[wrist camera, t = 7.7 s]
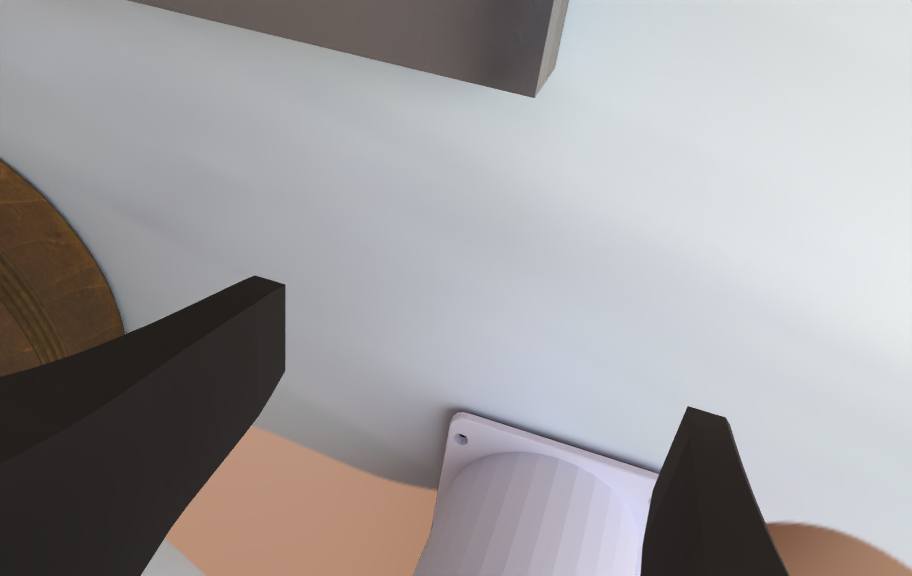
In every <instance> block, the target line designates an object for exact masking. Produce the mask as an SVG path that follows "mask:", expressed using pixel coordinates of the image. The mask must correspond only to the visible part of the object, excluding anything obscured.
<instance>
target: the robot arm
mask: <svg viewBox="0 0 912 576" xmlns="http://www.w3.org/2000/svg"><path fill="white" fill-rule="evenodd" d="M284 372H285V284H281V283H278V282H275V281H272V280H268V279H265V278H262V277H258V276H252V277H250V278H248V279H245V280H243V281H241V282H239V283H237V284H234V285H232V286H230V287H228V288H226V289H224V290H222V291H220V292H218V293H215V294H213V295H211V296H209V297H207V298H205V299H203V300H201V301H199V302H197V303H195V304H193V305H190V306H188V307H186V308H184V309H182V310H180V311H177V312H175V313H173V314H171V315H169V316H167V317H165V318H162V319H160V320H158V321H156V322H154V323H151V324H149V325H147V326H144V327H142V328H139V329H137V330H135V331H132V332H130V333H127V334H125V335H123V336H120V337H118V338H115V339H113V340H111V341H108V342H106V343H103V344H101V345H99V346H96V347H93V348H91V349H88V350H85V351H82V352H80V353H77V354H74V355H71V356H68V357H65V358H62V359H59V360H56V361H53V362H50V363H47V364H44V365H41V366H37V367H34V368H31V369H27V370H24V371H20V372H16V373H13V374H9V375H5V376H1V377H0V576H141V574H142V572H143V571H144V569H145V568H146V566H147V565H148V563H149V561H150V560H151V558H152V557H153V555H154V554H155V552H156V551H157V549H158V547H159V546H160V544H161V543H162V541H163V540H164V538H165V536H166V535H167V533H168V532H169V530H170V529H171V527H172V526H173V525H174V523H175V522H176V521H177V519H178V518H179V516H180V515H181V514H182V512H183V511H184V510H185V508H186V507H187V506H188V504H189V503H190V502H191V501H192V499H193V498H194V497H195V496H196V494H197V493H198V492H199V490H200V489H201V488H202V487H203V486H204V484H205V483H206V482H207V481H208V479H209V478H210V477H211V476H212V474H213V473H214V472H215V471H216V469H217V468H218V467H219V466H220V464H221V463H222V462H223V461H224V459H225V458H226V457H227V456H228V454H229V453H230V452H231V451H232V449H233V448H234V447H235V445H236V444H237V443H238V442H239V440H240V439H241V438H242V437H243V435H244V434H245V433H246V432H247V430H248V429H249V428H250V426H251V425H252V424H253V422H254V421H255V420H256V419H257V417H258V416H259V414H260V413H261V411H262V409H263V408H264V406H265V405H266V403H267V401H268V400H269V398H270V396H271V395H272V393H273V391H274V389H275V388H276V386H277V384H278V382H279V381H280V379H281V377H282V375H283V374H284ZM459 434H462V435H464V436H466V437H462V436H460V435H459ZM413 576H789V574H788V571H787V569H786V567H785V565H784V563H783V561H782V559H781V557H780V556H779V553H778V551H777V548H776V546H775V544H774V542H773V540H772V537H771V535H770V533H769V530H768V528H767V526H766V523H765V521H764V519H763V516H762V514H761V511H760V509H759V507H758V504H757V502H756V499H755V497H754V494H753V492H752V489H751V486H750V484H749V481H748V478H747V475H746V473H745V470H744V467H743V464H742V461H741V458H740V456H739V453H738V449H737V446H736V443H735V440H734V437H733V434H732V430H731V427H730V424H729V423H728V421H727V419H726V418H725V417H722V416H719V415H715V414H712V413H709V412H705V411H702V410H699V409H695V408H692V407H689V406H688V407H687V409H686V412H685V414H684V416H683V419H682V421H681V424H680V426H679V428H678V431H677V433H676V436H675V438H674V440H673V443H672V445H671V447H670V450H669V452H668V455H667V457H666V459H665V462H664V464H663V467H662V469H661V471H660V474H657V473H654V472H651V471H648V470H645V469H641V468H638V467H635V466H632V465H629V464H626V463H623V462H619V461H616V460H613V459H610V458H607V457H604V456H601V455H598V454H594V453H591V452H588V451H585V450H582V449H579V448H576V447H573V446H569V445H566V444H563V443H560V442H557V441H554V440H551V439H548V438H544V437H541V436H538V435H535V434H532V433H529V432H526V431H522V430H519V429H516V428H513V427H510V426H507V425H504V424H501V423H497V422H494V421H491V420H488V419H485V418H482V417H479V416H476V415H472V414H469V413H465V412H459V413H456V414H455V415H454V416H453V418H452V420H451V422H450V425H449V431H448V437H447V442H446V448H445V454H444V459H443V465H442V471H441V476H440V482H439V488H438V493H437V499H436V505H435V511H434V517H433V522H432V528H431V533H430V536H429V538H428V540H427V543H426V545H425V547H424V550H423V552H422V555H421V557H420V559H419V562H418V564H417V567H416V569H415V571H414V574H413Z"/></svg>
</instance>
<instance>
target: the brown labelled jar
mask: <svg viewBox="0 0 912 576" xmlns="http://www.w3.org/2000/svg"><path fill="white" fill-rule="evenodd" d="M123 335H125V334H124V329H123V325H122V321H121V318H120V315H119V312H118V309H117V306H116V303H115V300H114V297H113V295H112V292H111V290H110V288H109V285H108V283H107V281H106V279H105V278H104V276H103V274H102V272H101V270H100V269H99V267H98V265H97V264H96V262H95V261H94V259H93V258H92V256H91V255H90V253H89V252H88V250H87V249H86V247H85V246H84V244H83V243H82V242H81V240H80V239H79V238H78V236H77V235H76V234H75V232H74V231H73V230H72V229H71V227H70V226H69V225H68V224H67V222H66V221H65V220H64V219H63V218H62V217H61V215H60V214H59V213H58V212H57V211H56V210H55V209H54V208H53V207H52V206H51V205H50V204H49V202H48V201H47V200H46V199H45V198H44V197H43V196H42V195H41V194H40V193H39V192H38V191H36V190H35V189H34V188H33V187H32V186H31V185H30V184H29V183H28V182H26V181H25V180H24V179H23V178H22V177H21V176H20V175H18V174H17V173H16V172H15V171H13V170H12V169H11V168H9V167H8V166H7V165H5V164H4V163H3V162H1V161H0V377H1V376H5V375H9V374H13V373H16V372H20V371H24V370H27V369H31V368H34V367H37V366H41V365H44V364H47V363H50V362H53V361H56V360H59V359H62V358H65V357H68V356H71V355H74V354H77V353H80V352H82V351H85V350H88V349H91V348H93V347H96V346H99V345H101V344H103V343H106V342H108V341H111V340H113V339H115V338H118V337H120V336H123Z"/></svg>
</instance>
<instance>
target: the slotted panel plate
mask: <svg viewBox="0 0 912 576" xmlns="http://www.w3.org/2000/svg"><path fill="white" fill-rule="evenodd" d="M129 1H133V2H137V3H141V4H145V5H149V6H154V7H158V8H162V9H166V10H170V11H174V12H179V13H183V14H187V15H191V16H195V17H199V18H204V19H208V20H212V21H216V22H220V23H224V24H229V25H233V26H237V27H241V28H245V29H249V30H254V31H258V32H262V33H266V34H270V35H274V36H279V37H283V38H287V39H291V40H295V41H299V42H304V43H308V44H312V45H316V46H320V47H324V48H328V49H333V50H337V51H341V52H345V53H349V54H353V55H358V56H362V57H366V58H370V59H374V60H378V61H383V62H387V63H391V64H395V65H399V66H403V67H408V68H412V69H416V70H420V71H424V72H428V73H433V74H437V75H441V76H445V77H449V78H453V79H458V80H462V81H466V82H470V83H474V84H478V85H483V86H487V87H491V88H495V89H499V90H503V91H507V92H512V93H516V94H520V95H524V96H528V97H532V98H535V97H536V95H537V94H538V92H539V91H540V89H541V88H542V86H543V85H544V83H545V82H546V80H547V79H548V77H549V76H550V74H551V73H552V72H553V70H554V69H555V64H556V59H557V54H558V50H559V45H560V40H561V35H562V30H563V26H564V21H565V16H566V11H567V6H568V2H569V0H129Z"/></svg>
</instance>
